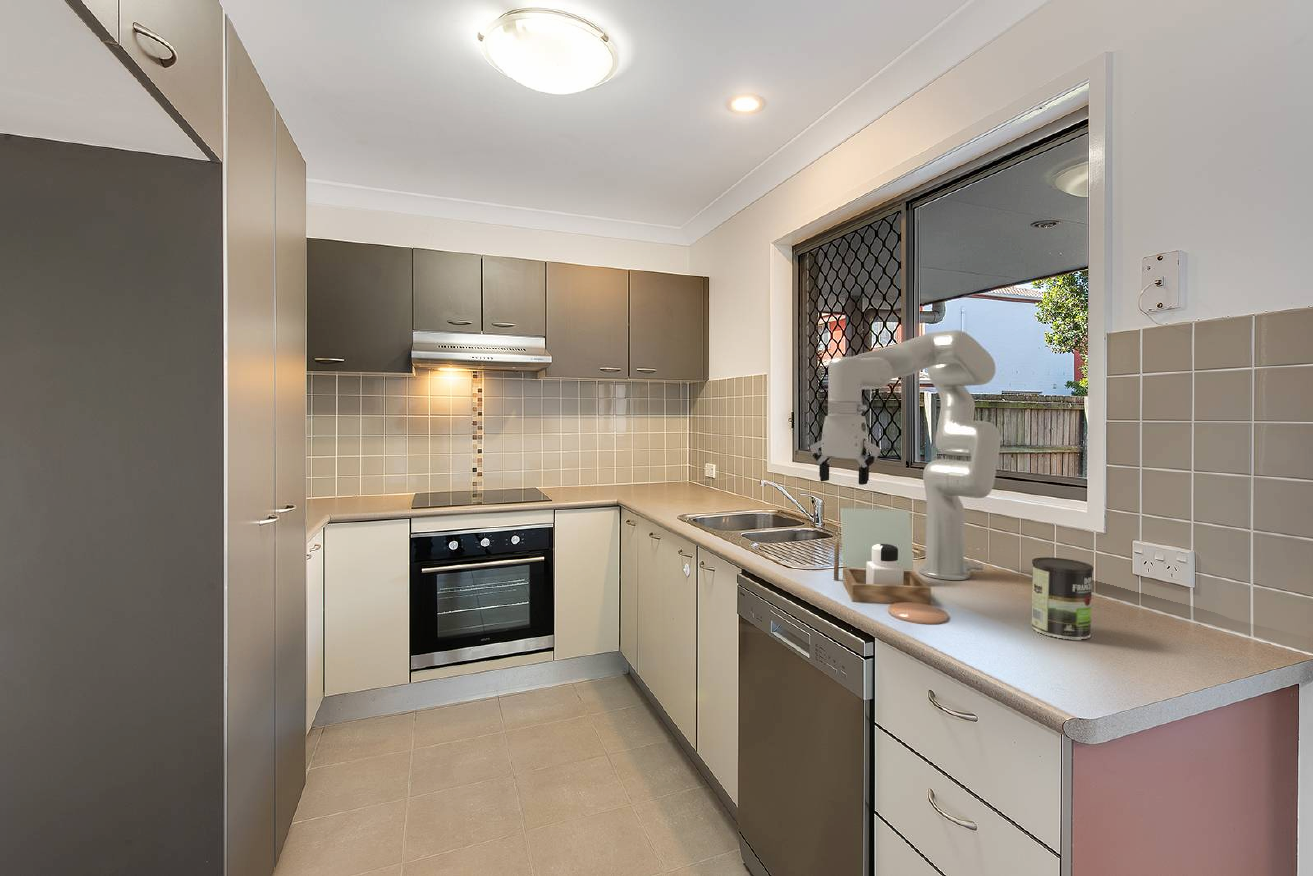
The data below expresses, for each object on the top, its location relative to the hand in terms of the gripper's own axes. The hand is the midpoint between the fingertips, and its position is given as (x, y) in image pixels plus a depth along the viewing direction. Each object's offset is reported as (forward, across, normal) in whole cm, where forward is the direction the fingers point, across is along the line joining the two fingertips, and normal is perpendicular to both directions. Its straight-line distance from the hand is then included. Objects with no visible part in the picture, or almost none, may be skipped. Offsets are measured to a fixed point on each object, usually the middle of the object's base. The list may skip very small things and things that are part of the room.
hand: (843, 482), depth 144 cm
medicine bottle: (+28, -6, -11) cm, 31 cm away
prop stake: (+28, +9, -14) cm, 32 cm away
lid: (+16, 0, -20) cm, 26 cm away
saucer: (+28, -17, -1) cm, 33 cm away
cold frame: (+28, -6, -11) cm, 31 cm away
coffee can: (+28, -42, -11) cm, 52 cm away
